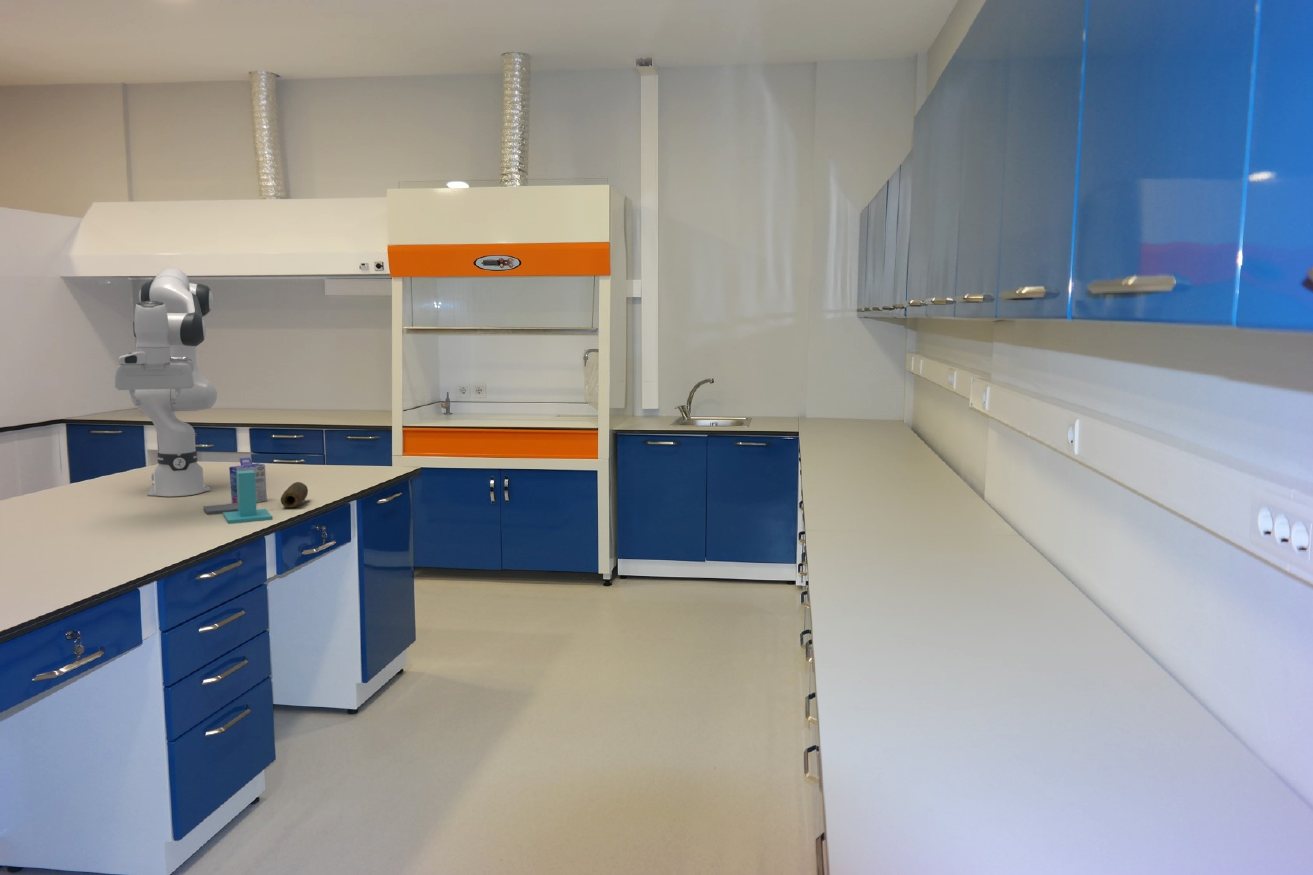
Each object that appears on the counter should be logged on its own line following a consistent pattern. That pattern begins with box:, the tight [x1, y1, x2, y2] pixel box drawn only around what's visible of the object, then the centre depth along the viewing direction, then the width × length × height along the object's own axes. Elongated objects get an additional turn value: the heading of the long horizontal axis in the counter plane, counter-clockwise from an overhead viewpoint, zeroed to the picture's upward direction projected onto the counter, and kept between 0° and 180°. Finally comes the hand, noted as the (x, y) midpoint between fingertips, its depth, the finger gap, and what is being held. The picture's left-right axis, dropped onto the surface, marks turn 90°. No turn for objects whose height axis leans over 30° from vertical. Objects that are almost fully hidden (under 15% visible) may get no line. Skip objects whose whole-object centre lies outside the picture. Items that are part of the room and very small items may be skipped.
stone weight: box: [280, 481, 309, 509], centre depth 292 cm, size 15×7×7 cm, turn 15°
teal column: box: [236, 470, 257, 517], centre depth 272 cm, size 4×4×13 cm
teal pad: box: [222, 508, 273, 525], centre depth 272 cm, size 12×12×1 cm
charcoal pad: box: [203, 503, 238, 516], centre depth 282 cm, size 9×12×1 cm
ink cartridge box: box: [228, 457, 268, 504], centre depth 294 cm, size 10×6×14 cm, turn 142°
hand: (156, 404), depth 265 cm, fingers open, 8 cm apart
